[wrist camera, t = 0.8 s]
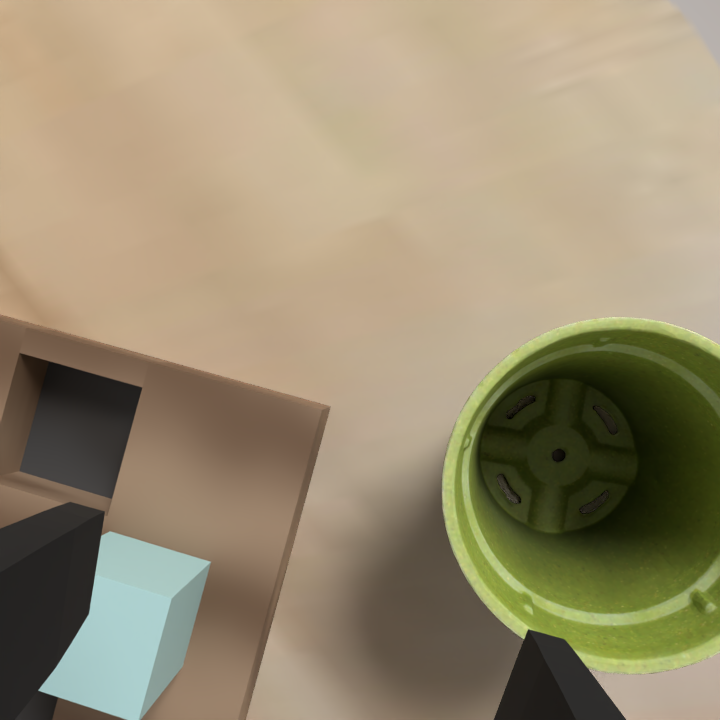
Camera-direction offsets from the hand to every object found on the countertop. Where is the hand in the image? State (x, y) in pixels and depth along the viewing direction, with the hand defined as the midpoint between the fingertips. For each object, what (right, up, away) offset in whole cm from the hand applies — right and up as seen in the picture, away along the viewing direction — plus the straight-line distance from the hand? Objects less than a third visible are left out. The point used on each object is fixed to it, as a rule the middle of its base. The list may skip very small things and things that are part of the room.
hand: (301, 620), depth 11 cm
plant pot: (+9, 0, +15) cm, 18 cm away
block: (-7, -5, +14) cm, 16 cm away
